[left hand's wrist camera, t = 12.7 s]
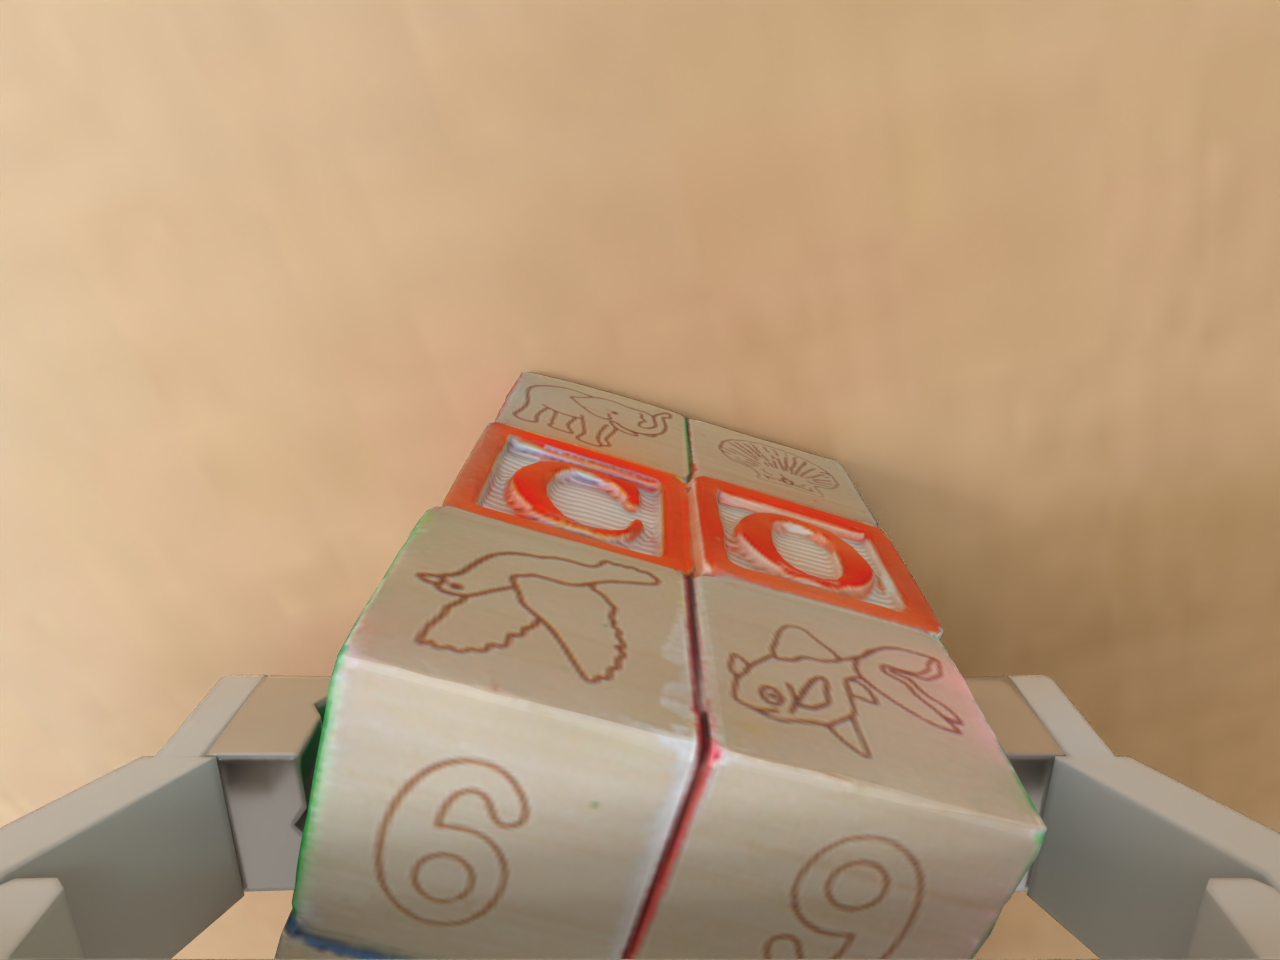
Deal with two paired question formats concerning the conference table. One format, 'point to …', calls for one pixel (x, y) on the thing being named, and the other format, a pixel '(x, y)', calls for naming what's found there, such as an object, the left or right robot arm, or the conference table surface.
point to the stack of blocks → (651, 717)
